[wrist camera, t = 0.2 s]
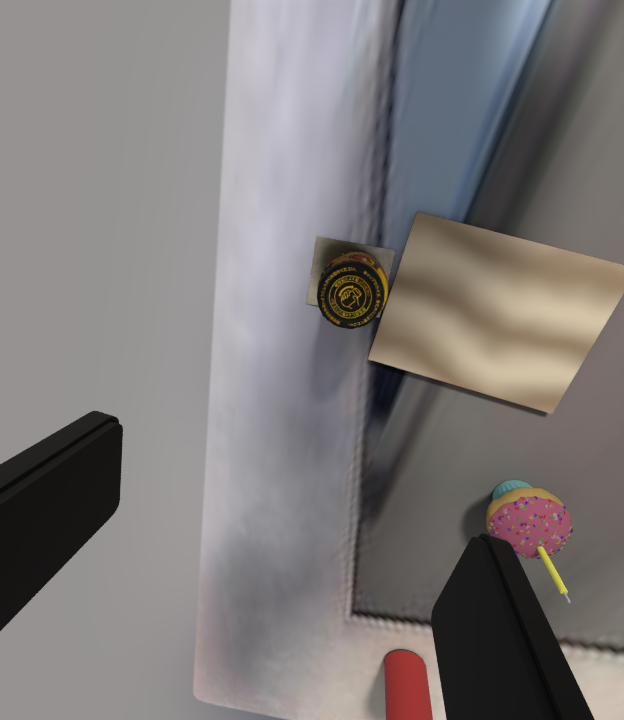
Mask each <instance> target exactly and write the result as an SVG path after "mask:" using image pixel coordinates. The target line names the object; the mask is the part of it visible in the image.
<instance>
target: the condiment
mask: <svg viewBox="0 0 624 720" xmlns="http://www.w3.org/2000/svg"><path fill="white" fill-rule="evenodd" d="M395 251H396V250H392V249H386V248H380V247H374V246H369V245H363V244H357V243H351V242H345V241H340V240H335V239H328V238H323V237H316V244H315V251H314V258H313V264H312V271H311V277H310V284H309V290H308V296H307V302H306V303H307V304H312V305H317V306H319V308H320V310H321V312H322V315H323V316H324V317H325V318H326V319H327V320H328V321H330V322H331V323H332V324H333V325H336V326H338V327H342V328H348V329H353V328H357V327H358V328H359V327H362V326H365V325H367V324H368V323H369V322H371V321H372V320H373V319H374V318H376V317H378V318H380V314H381V310H382V309H383V307H384V304H385V302H386V300H387V297H388V280H389V276H390V272H391V268H392V264H393V260H394V256H395ZM342 253H344V254H342Z"/></svg>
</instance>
